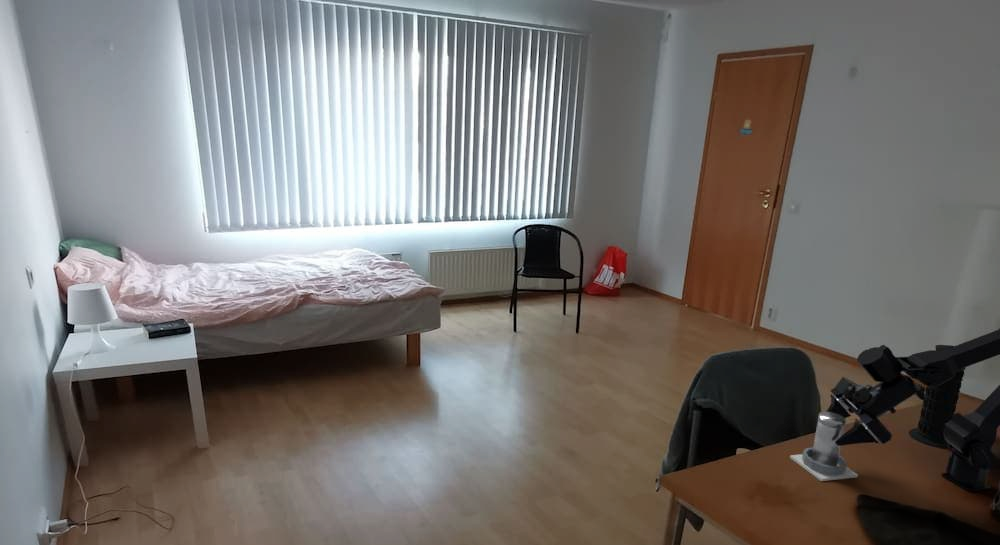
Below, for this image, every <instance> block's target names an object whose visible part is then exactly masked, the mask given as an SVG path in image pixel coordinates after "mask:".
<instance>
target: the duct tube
mask: <svg viewBox="0 0 1000 545" xmlns="http://www.w3.org/2000/svg"><path fill="white" fill-rule="evenodd" d="M846 419H847V418H844V417H842V416H841V415H838V414H836V413H832V412H826V411H820V412H819V414H818V417H817V424H816V431H815V436H814V441H813V446H812V448H813V451H812V457H811V459H813V460H814V461H816V462H818V463H821V464H823V465H829V466H837V464H838V459H839V455H840V452H841V447H842V446H838V445H837V444H836V443H835V441H836V440H837V439H838V438H839V437H841V436H842V435H843V434H844V431H845V427H846Z"/></svg>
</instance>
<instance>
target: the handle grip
mask: <svg viewBox="0 0 1000 545" xmlns="http://www.w3.org/2000/svg"><path fill="white" fill-rule="evenodd" d="M954 346H955V345H950V344H936V345H935V350H944V349H949V348H951V347H954ZM966 368H967V367H965V368H963V369H961V370H959V371H958V372H957V373H956V374H955V376H954V377H953V378H951V379H950V380H948V381H946V382H944V383H942V384H940V385H938V386H934V387H930V386H927V385H926V387H925V393H924V394H925V399H924V400H922V405H921V411H920V416H919V420H918V424H917V428H911V429H910V430H909V431H908V435H909V436H910V437H911V438H913V439H914V440H915V441H917V442H919V443H921V444H924V445H927V446H930V447H933V448H939V449H946V448H949V447H948V442H947V441H946V440H945V438H944V433H943V430H944V429H945V427H946V425H945V423H947V422H949V421H950V420H951V419H952V418H953V416H954V415H955V414H956V413H955V412H956V411H957V404H958V400H959V398H960V396H959V393H961V389H962V388H961V387H962V382H963V380H964V379H963V378H964V376H965V370H966Z"/></svg>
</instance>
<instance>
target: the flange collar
mask: <svg viewBox="0 0 1000 545" xmlns="http://www.w3.org/2000/svg"><path fill="white" fill-rule="evenodd" d="M812 451H813V447H806V448H805V449H804V450H803V451H802V454H801V453H800V454H793V455H792V454H791V455H789V458H790V459H791V460H792V461H794V462H795V463H797V464H798V465H799V466H800V467H802V468H803V469H805V470H806V471H807V472H808V473H810V474H811V475H812V476H813V477H815V478H816V479H818V480H819V481H820V482H825V481H835V480H845V479H846V480H847V479H853V478H858V477H859V474H858V473H856V472H854V471H853V470H851V469H850V468H849V467H847V464H848V463H847V462H846V460H845V458H844V457H843V456H841V455H840V454H839V459H838V464H837V466H829V465H823V464H821V463H818V462H816V461H814V460H813V459H811V457H812Z"/></svg>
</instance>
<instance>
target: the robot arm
mask: <svg viewBox="0 0 1000 545" xmlns="http://www.w3.org/2000/svg"><path fill="white" fill-rule="evenodd" d="M953 346H954V347H951V348H949V349H944V350H936V349H933V350H932V349H931V350H930V349H929V350H926V351H920V352H916V353H912V354H911V355H909V356H895V355H894V353H893V351H892V350H891V348H889V347H888V346H886V345H885V344H882V345H880V346H878V347H877V346H876V347H870V348H868V349H864V350H863V351H861V352H860V353H859V355H858V356H857V358H856V361H857V363H858V364H859V365H860V367H861V368H862V369H863V370H864V371H865V373H866V374H868V375H869V377H870V378H871V379H872V380H873V381H875V382H878V383H877V384H876V385H874V386H872V385H871V384H866V385H865V386H863V385H862V384H858V383H856V382H854V381H852V380H850V379H849V378H846V377H845V376H842V377H841V379H840V380H838V382H837V383H836V385H835V386H834V387H833V388H832V389H831V390H829V391H830V392H831V393H830V395H829V396H830V405H829V406H828V408H827V409H826V411H825V412H832V413H836V414H838V415H841V416H842V417H844V418H845V419H847V418H850V417H852V415H851V414H855V415H856V416H857V417H858V418H859V419H857V418H855V419H854V422H853V426H852V427H851V428H850V429H848V430H847V431H846V432H845V433H843V435H842V436H841V437H839V438H838V439H837V440H836V441H835V443H836V444H837V445H838V446H841V447H842V446H848V445H855V444H870V443H875V444H877V445H878V444H879V442H880V443H881V444H882V445H885V444H887V443H889V442H891V441H892V437H893V434H892V432H891V431H890V430H889V429H888V428H887V427H886V426H885V425H884V424H883V423H882V421H881V420H879V418H880V417H882V416H883V415H885V414H887V413H888V412H890V414H895V413H896V412H897V410H896V409H895V408H896V407H897V406H899V405H900V404H902V403H903V402H904V401H907V400H908V399H909V398H911V397H912V396H915V397H917V398H918V399H920V400H921V401H923V400H924V399H925V394H926V387H927V386H930V387H934V386H938V385H940V384H942V383H944V382H946V381H948V380H950V379H951V378H953V377H954V376H955V374H956V373H957V372H958V371H959V370H961V369H963V368H967V367H970V366H972V365H976V364H978V363H981V362H984V361H986V360H990V359H992V358H995V357H997V356H1000V327H999V328H998V329H997V330H994V331H991V332H987V333H986V334H983V335H981V336H978V337H975V338H973V339H970V340H967V341H964V342H962V343H959V344H957V345H956V344H955V345H953ZM903 373H904V374H905V375H903ZM913 379H915V380H916V381H918V382H920V383H921V384H923V385H925V386H926V387H924V386H923V385H921V384H917V383H916V382H915V381H914V380H913ZM860 421H861V422H860ZM945 425H946V427H945V429H944V430H943V433H944V438H945V440H946V441H947V442H948V447H949V448H950V450H952V451H951V455H949V456H948V459H947V463H946V464H947V465H946V467H945V472H941V476H942V477H943V478H945V479H946V480H948V481H950V482H952V483H954V484H955V485H957V486H959V487H961V489H965V490H966V491H967V492H973V491H974V492H975V491H981V490H990V489H991V485H989V484H987V481H988V476H989V473H990V470H996V469H997V468H998V466H999V465H1000V459H999V458H998V457H997V456H996V455H995V454H994V453H993V451H992V450H991V449H992V447H994V445H995V443H996V440H997V434H998V433H997V432H998V428H999V427H1000V384H999V385H997V387H996V388H995V389H994V390H993V391H992V392H991V393H990V394H989V395H988V396H987V397H986V399H984V401H982V403H981V404H980V405H979V406H977V408H975V409H974V411H973V412H970V413H967V414H964V415H963V414H961V412H956V413H955V415H954V416H953V418H952V419H951V420H950V421H949V422H947V423H945Z"/></svg>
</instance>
